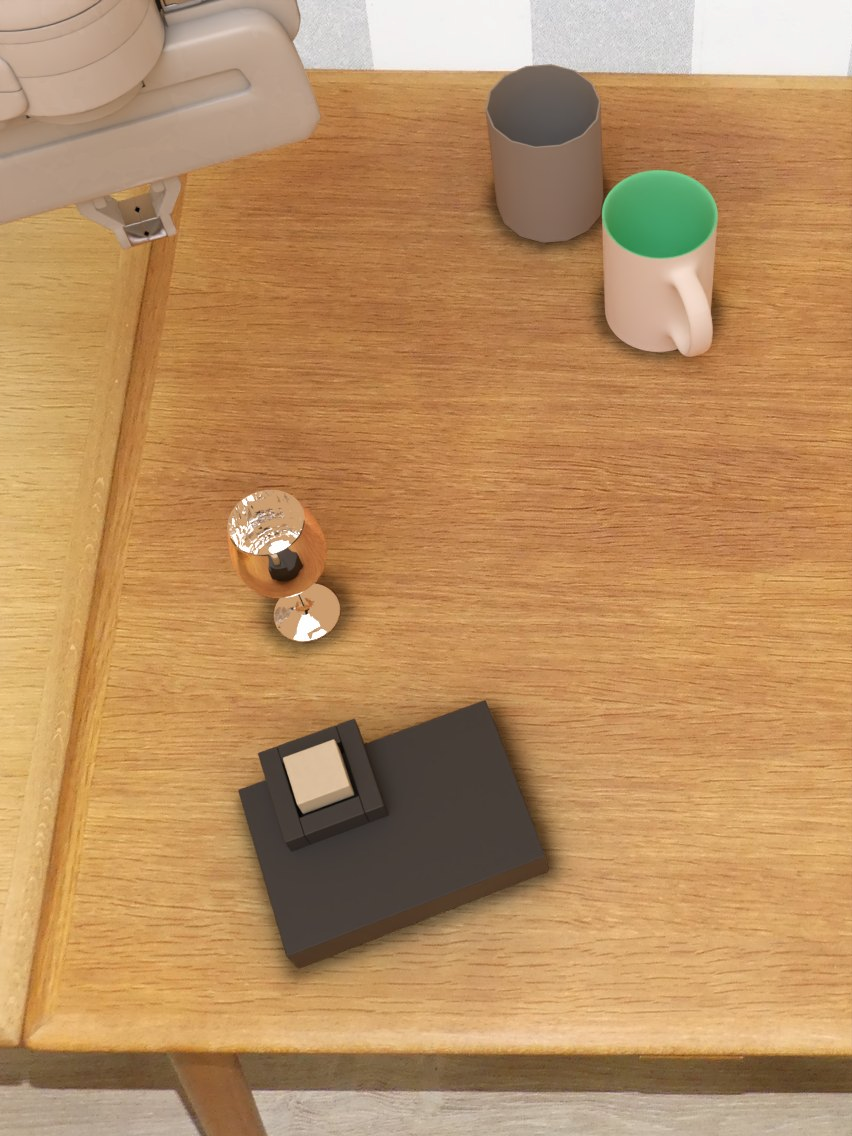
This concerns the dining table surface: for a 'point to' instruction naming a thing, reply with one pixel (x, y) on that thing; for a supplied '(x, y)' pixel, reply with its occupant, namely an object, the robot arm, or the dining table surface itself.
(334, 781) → the square button
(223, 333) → the dining table surface
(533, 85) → the cup
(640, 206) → the mug
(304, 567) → the wineglass
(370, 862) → the button panel
